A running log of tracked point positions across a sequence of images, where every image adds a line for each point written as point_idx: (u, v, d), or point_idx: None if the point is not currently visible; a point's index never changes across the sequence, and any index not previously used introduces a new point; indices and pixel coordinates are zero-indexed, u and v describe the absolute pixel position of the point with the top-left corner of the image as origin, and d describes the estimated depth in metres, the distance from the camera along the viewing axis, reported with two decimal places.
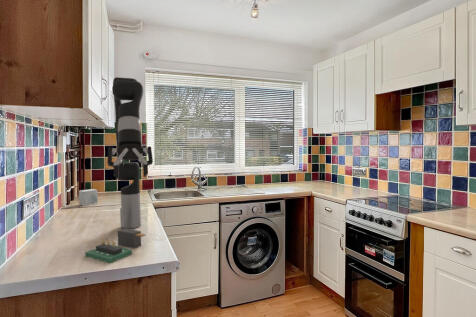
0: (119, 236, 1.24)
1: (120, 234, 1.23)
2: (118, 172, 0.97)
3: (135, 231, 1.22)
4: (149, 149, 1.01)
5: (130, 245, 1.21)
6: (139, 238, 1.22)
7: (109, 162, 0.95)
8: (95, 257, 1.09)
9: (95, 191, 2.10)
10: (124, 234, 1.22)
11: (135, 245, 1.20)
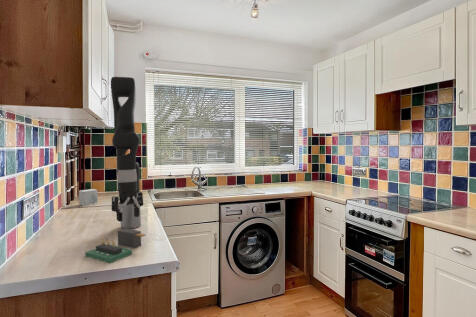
0: (119, 236, 1.24)
1: (120, 234, 1.23)
2: None
3: (135, 231, 1.22)
4: (141, 195, 1.27)
5: (130, 245, 1.21)
6: (139, 238, 1.22)
7: (117, 210, 1.16)
8: (95, 257, 1.09)
9: (95, 191, 2.10)
10: (124, 234, 1.22)
11: (135, 245, 1.20)
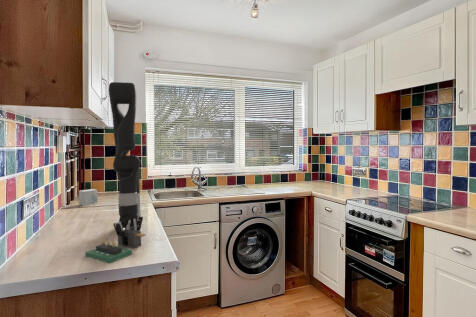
0: (119, 236, 1.24)
1: None
2: None
3: (135, 231, 1.22)
4: (141, 219, 1.28)
5: (130, 245, 1.21)
6: (139, 238, 1.22)
7: (122, 235, 1.19)
8: (95, 257, 1.09)
9: (95, 191, 2.10)
10: None
11: (135, 245, 1.20)
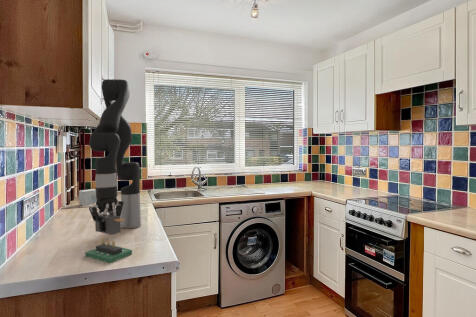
0: (96, 222, 1.12)
1: None
2: None
3: (114, 216, 1.11)
4: (122, 204, 1.16)
5: (108, 231, 1.09)
6: (118, 224, 1.10)
7: (99, 220, 1.07)
8: (95, 257, 1.09)
9: (95, 191, 2.10)
10: None
11: (114, 231, 1.09)
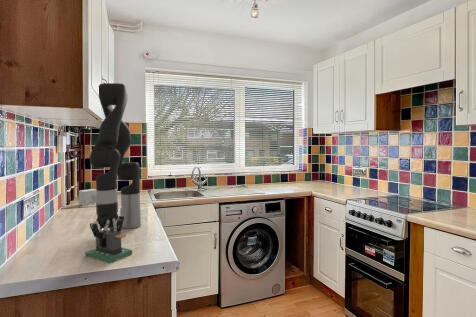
0: (97, 238, 1.13)
1: None
2: None
3: (115, 232, 1.11)
4: (122, 219, 1.16)
5: (109, 248, 1.09)
6: (119, 240, 1.11)
7: (100, 236, 1.08)
8: (95, 257, 1.09)
9: (95, 191, 2.10)
10: None
11: (114, 248, 1.09)
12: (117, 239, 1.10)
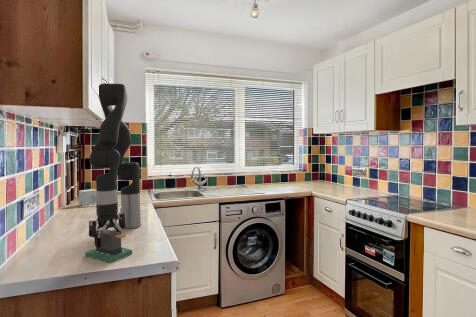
0: None
1: None
2: None
3: (115, 232, 1.11)
4: (123, 216, 1.17)
5: (109, 248, 1.09)
6: (119, 240, 1.11)
7: (94, 236, 1.06)
8: (95, 257, 1.09)
9: (95, 191, 2.10)
10: (102, 235, 1.11)
11: (114, 248, 1.09)
12: (117, 239, 1.10)
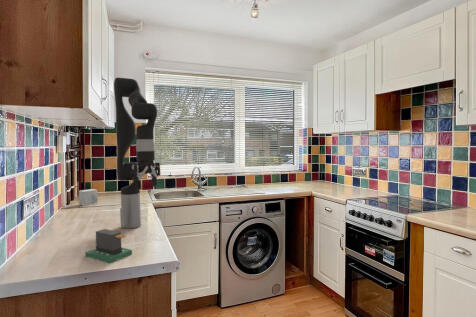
0: (97, 238, 1.13)
1: (98, 235, 1.12)
2: None
3: (115, 232, 1.11)
4: (158, 165, 1.30)
5: (109, 248, 1.09)
6: (119, 240, 1.11)
7: (136, 178, 1.20)
8: (95, 257, 1.09)
9: (95, 191, 2.10)
10: (102, 235, 1.11)
11: (114, 248, 1.09)
12: (117, 239, 1.10)
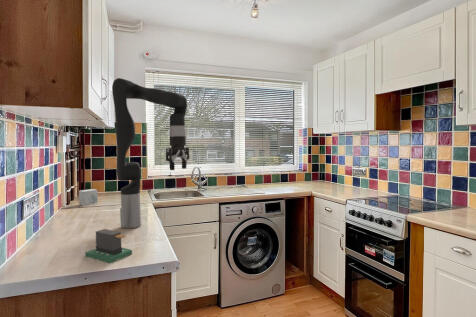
0: (97, 238, 1.13)
1: (98, 235, 1.12)
2: None
3: (115, 232, 1.11)
4: (188, 149, 1.45)
5: (109, 248, 1.09)
6: (119, 240, 1.11)
7: (170, 159, 1.34)
8: (95, 257, 1.09)
9: (95, 191, 2.10)
10: (102, 235, 1.11)
11: (114, 248, 1.09)
12: (117, 239, 1.10)
